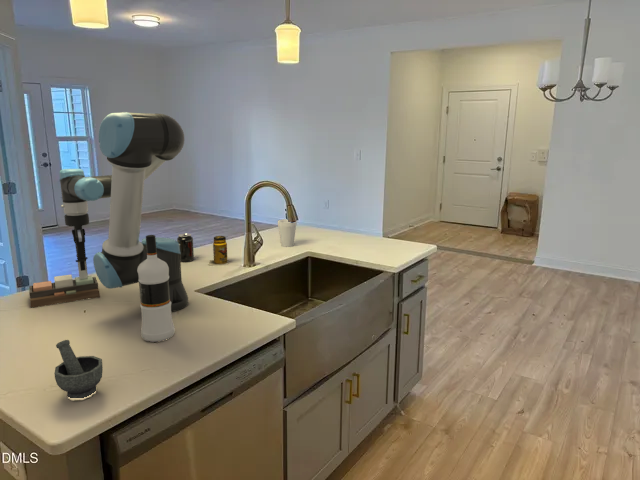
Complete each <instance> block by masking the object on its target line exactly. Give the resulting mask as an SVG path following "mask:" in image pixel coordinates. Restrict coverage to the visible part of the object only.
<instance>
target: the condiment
mask: <svg viewBox="0 0 640 480" xmlns="http://www.w3.org/2000/svg"><path fill="white" fill-rule="evenodd" d="M212 248H213V249H212V252H213V259H211V260H209V263H208V266H226V265H229V259H228V244H227V237H226V236H225V235H216V236H214V237H213V243H212Z"/></svg>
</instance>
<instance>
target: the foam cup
mask: <svg viewBox="0 0 640 480" xmlns="http://www.w3.org/2000/svg"><path fill="white" fill-rule="evenodd" d="M287 219H288V218H284V219H279V220H277V226H278V232H279V233H278V234H279V240H280V246H281V247H283V248H291V247H294V245H295V239H296V238H295V237H296V230H297V221H296V222H295V223H290V222H288V220H287Z"/></svg>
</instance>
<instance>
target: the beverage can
mask: <svg viewBox="0 0 640 480" xmlns="http://www.w3.org/2000/svg"><path fill="white" fill-rule="evenodd" d="M176 241H177V242H178V243H179V248H180V252H181V254H180V261H181V262H182V263H188V262H189V263H190V262H192V261H193V260H194V258H195V253H194V238H193V236H192V234H191V233H180V234H178V237H177V239H176Z"/></svg>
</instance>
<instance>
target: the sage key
mask: <svg viewBox="0 0 640 480" xmlns="http://www.w3.org/2000/svg"><path fill="white" fill-rule="evenodd" d="M92 277H93V275H88V278H86V279H80V278H79V276H77V277H75V278H74V280H75V282H76V286H78V285H85V284H92V283H94V282H93V278H92Z"/></svg>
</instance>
